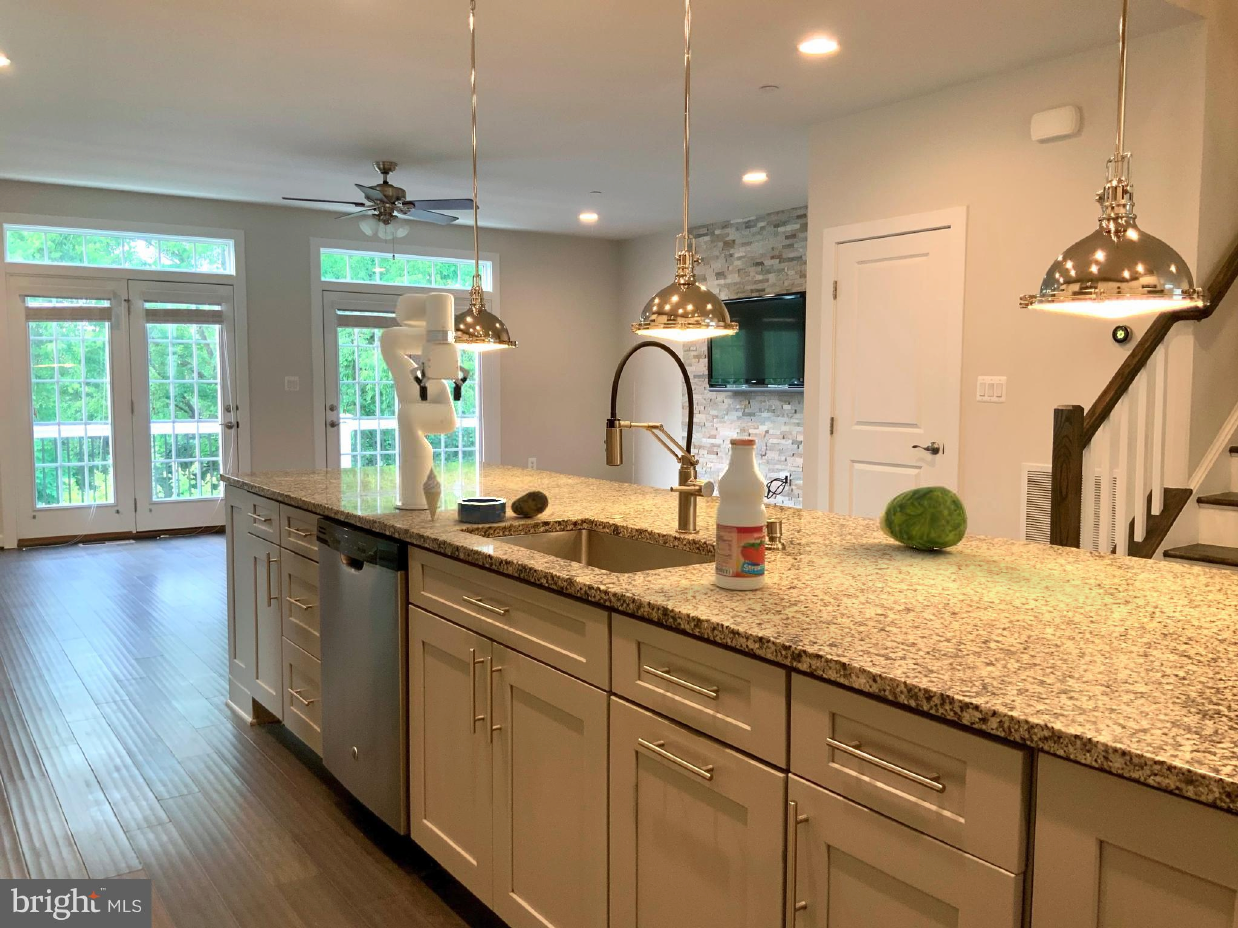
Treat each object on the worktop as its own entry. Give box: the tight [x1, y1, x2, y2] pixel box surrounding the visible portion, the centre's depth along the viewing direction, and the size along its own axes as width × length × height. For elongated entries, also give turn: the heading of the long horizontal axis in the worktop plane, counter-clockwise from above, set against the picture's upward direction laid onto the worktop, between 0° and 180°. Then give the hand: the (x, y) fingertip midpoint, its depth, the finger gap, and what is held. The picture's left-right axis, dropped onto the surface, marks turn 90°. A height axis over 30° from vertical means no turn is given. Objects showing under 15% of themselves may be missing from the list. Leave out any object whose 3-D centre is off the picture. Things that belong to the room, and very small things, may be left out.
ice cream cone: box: [423, 467, 442, 522], centre depth 255 cm, size 5×5×15 cm
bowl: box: [456, 497, 507, 524], centre depth 257 cm, size 13×13×6 cm
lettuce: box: [878, 485, 968, 552], centre depth 220 cm, size 16×21×15 cm
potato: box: [510, 490, 550, 518], centre depth 263 cm, size 8×13×8 cm, turn 27°
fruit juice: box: [714, 438, 767, 591], centre depth 176 cm, size 9×9×28 cm
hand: (440, 400), depth 256 cm, fingers open, 9 cm apart
